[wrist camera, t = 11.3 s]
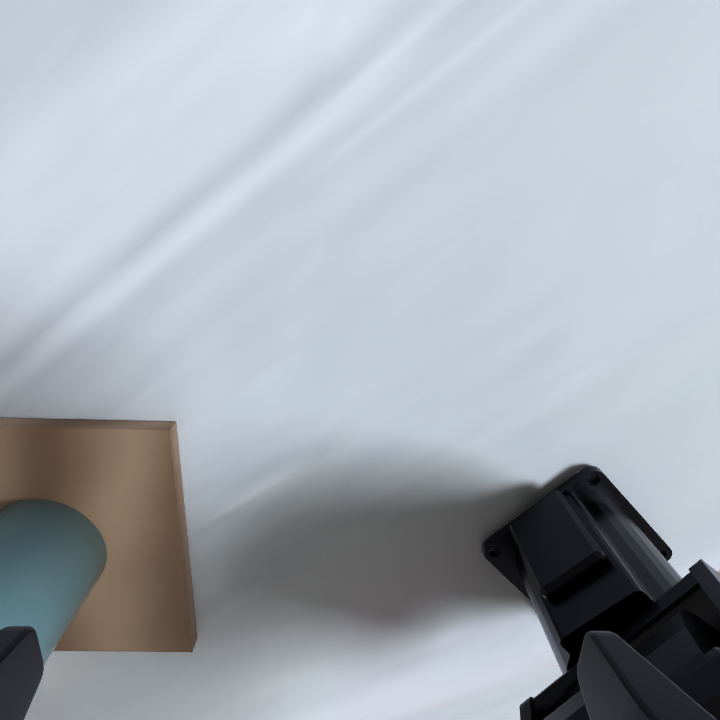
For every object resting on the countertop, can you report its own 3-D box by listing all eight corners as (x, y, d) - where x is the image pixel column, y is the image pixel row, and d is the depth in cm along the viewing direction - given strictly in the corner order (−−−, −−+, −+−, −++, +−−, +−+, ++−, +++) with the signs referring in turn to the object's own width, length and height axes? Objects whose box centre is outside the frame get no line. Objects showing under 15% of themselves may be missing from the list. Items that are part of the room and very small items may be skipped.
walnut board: (176, 421, 21) (169, 430, 20) (197, 637, 25) (192, 652, 24) (-116, 415, 21) (-134, 423, 20) (-48, 635, 25) (-61, 649, 24)
